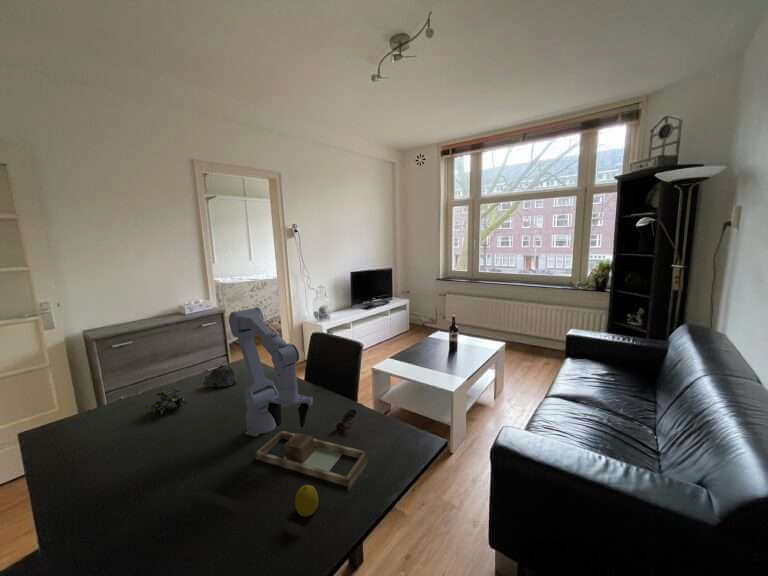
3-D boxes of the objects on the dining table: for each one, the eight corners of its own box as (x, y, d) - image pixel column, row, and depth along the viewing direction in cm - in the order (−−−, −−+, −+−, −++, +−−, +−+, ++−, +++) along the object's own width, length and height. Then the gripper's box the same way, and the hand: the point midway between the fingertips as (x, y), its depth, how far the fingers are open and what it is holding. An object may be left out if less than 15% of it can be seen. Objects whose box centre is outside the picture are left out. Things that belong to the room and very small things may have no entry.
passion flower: (180, 419, 134) (194, 396, 133) (156, 429, 123) (171, 405, 122) (162, 401, 136) (176, 379, 135) (137, 410, 126) (152, 386, 124)
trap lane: (256, 463, 99) (255, 452, 98) (282, 439, 109) (281, 430, 109) (348, 491, 86) (348, 480, 86) (367, 462, 97) (367, 451, 97)
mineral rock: (202, 388, 149) (199, 367, 148) (220, 378, 159) (218, 359, 158) (223, 392, 145) (221, 371, 143) (241, 381, 155) (239, 361, 153)
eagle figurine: (358, 434, 109) (361, 415, 118) (345, 420, 108) (349, 401, 116) (340, 443, 111) (345, 424, 120) (327, 429, 110) (333, 410, 118)
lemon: (298, 506, 82) (296, 479, 81) (320, 504, 83) (318, 477, 81) (294, 526, 77) (291, 496, 75) (317, 523, 77) (315, 494, 76)
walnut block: (286, 459, 98) (284, 444, 97) (298, 447, 103) (297, 432, 102) (302, 464, 95) (301, 448, 94) (314, 451, 101) (313, 436, 100)
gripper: (258, 390, 96) (262, 432, 98) (306, 391, 95) (309, 433, 97) (269, 379, 103) (272, 418, 105) (313, 380, 101) (316, 420, 104)
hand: (290, 425), depth 101 cm, fingers open, 7 cm apart
